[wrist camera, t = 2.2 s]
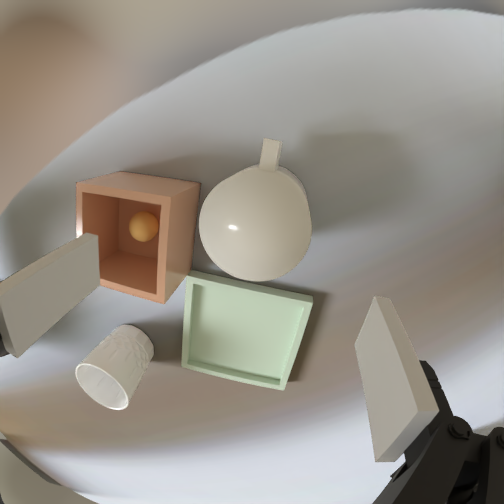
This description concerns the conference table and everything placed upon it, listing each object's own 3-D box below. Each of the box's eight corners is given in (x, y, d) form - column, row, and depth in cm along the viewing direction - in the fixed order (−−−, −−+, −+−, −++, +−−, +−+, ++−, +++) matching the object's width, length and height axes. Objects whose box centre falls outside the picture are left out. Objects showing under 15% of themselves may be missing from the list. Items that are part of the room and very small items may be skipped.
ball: (137, 233, 33) (123, 242, 30) (138, 206, 31) (123, 213, 28) (162, 238, 32) (149, 248, 29) (164, 210, 31) (151, 218, 28)
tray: (185, 359, 39) (181, 366, 38) (191, 269, 34) (186, 275, 33) (284, 382, 38) (283, 390, 37) (312, 296, 33) (313, 303, 32)
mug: (220, 235, 32) (193, 268, 24) (235, 133, 28) (211, 130, 20) (297, 251, 32) (297, 291, 23) (320, 149, 28) (330, 151, 19)
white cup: (135, 313, 38) (97, 357, 29) (168, 356, 40) (140, 406, 31) (102, 329, 40) (65, 369, 31) (133, 368, 42) (104, 412, 33)
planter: (117, 251, 35) (79, 278, 28) (119, 171, 31) (76, 182, 24) (191, 269, 34) (164, 304, 27) (201, 182, 31) (171, 197, 23)
